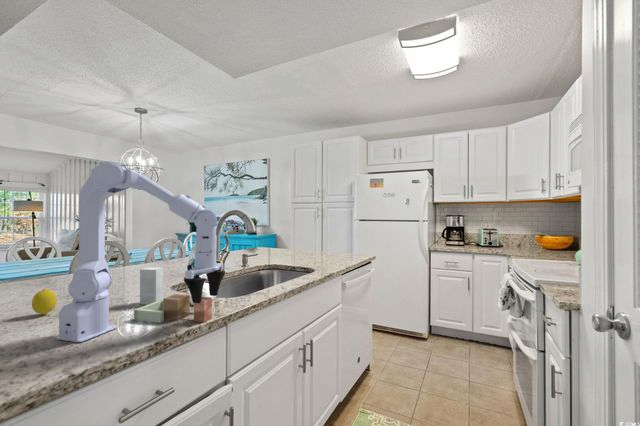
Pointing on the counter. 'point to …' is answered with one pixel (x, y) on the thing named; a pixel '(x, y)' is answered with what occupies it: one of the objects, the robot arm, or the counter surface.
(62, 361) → the counter surface
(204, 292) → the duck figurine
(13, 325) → the counter surface
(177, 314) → the tethered block
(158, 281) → the skincare box
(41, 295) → the lemon
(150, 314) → the green l-shaped block
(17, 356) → the counter surface
